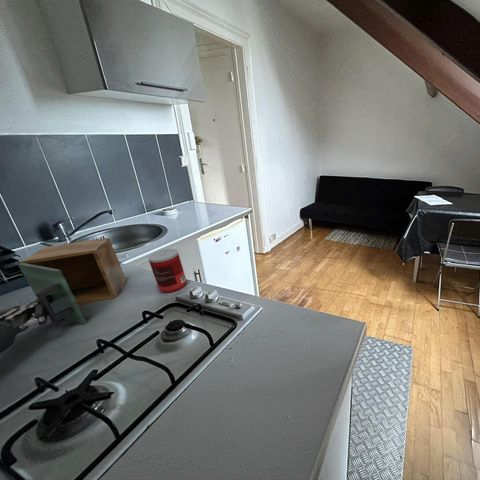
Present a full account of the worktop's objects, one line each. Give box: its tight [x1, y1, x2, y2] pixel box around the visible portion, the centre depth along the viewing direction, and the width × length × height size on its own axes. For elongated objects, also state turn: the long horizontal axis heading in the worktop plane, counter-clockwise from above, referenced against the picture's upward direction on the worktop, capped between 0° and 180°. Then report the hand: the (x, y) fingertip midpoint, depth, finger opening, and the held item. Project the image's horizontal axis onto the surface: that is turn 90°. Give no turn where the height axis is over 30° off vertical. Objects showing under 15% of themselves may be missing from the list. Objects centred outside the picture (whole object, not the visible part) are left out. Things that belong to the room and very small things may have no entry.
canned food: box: [148, 248, 187, 294], centre depth 78 cm, size 8×8×11 cm
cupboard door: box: [17, 262, 88, 325], centre depth 63 cm, size 5×16×15 cm, turn 71°
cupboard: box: [21, 237, 128, 307], centre depth 75 cm, size 10×16×16 cm, turn 109°
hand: (49, 297), depth 65 cm, fingers closed
